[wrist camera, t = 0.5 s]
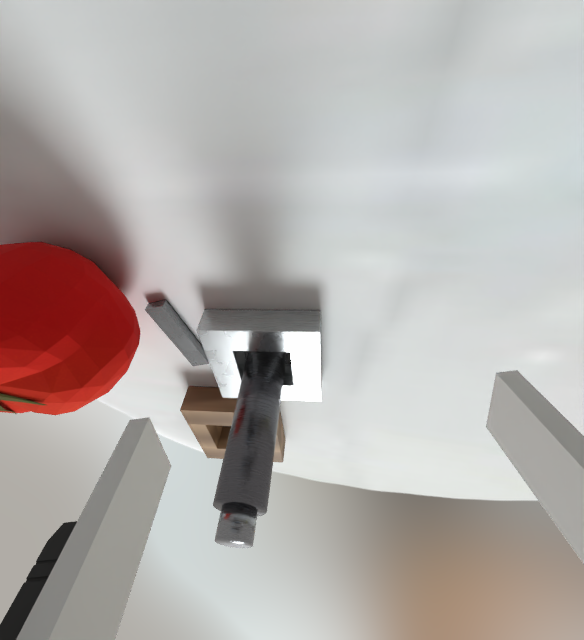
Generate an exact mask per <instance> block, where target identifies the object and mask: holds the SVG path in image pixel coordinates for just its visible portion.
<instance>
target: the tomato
mask: <svg viewBox="0 0 584 640" xmlns="http://www.w3.org/2000/svg"><path fill="white" fill-rule="evenodd" d="M139 339H140V328H139V324H138V321H137V317H136V313H135V311H134V309H133V307H132V306H131V304H130V303H129V301H128V300H127V298H126V297H125V295H124V294H123V293H122V292H121V291H120V290H119V289H118V288H117V286H116V285H115V284H114V283H113V282H112V281H111V280H110V279H109V278H108V277H107V276H106V275H105V274H104V273H103V272H102V271H101V270H100V269H99V268H98V267H97V266H96V264H95V263H94V262H92V261H91V260H89V259H87V258H85V257H83V256H81V255H80V254H78V253H76V252H74V251H72V250H70V249H66V248H62V247H59V246H55V245H51V244H47V243H43V242H27V243H15V244H4V245H0V412H8V413H24V412H29V411H32V412H35V413H43V414H51V415H58V414H62V413H68V412H73V411H76V410H78V409H79V408H81V407H83V406H84V405H86V404H88V403H90V402H92V401H93V400H95V399H97V398H99V397H101V396H102V395H104V394H106V393H108V392H109V391H110V390H111V389H112V388H113V386H114V385H115V384H116V383H117V382H118V381H119V380H120V379H121V378H122V376H123V375H124V374H125V373H126V372H127V370H128V368H129V366H130V363H131V361H132V359H133V357H134V354H135V352H136V350H137V347H138V345H139Z"/></svg>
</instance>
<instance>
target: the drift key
mask: <svg viewBox="0 0 584 640" xmlns="http://www.w3.org/2000/svg"><path fill="white" fill-rule="evenodd" d="M145 310H146V312H147V313H148V314H149V315H150V316H151V317H152V319H153V320H154V321H155V322H156V323H157V324H158V326H159V327H160V328H161V329H162V330H163V331H164V333H165V334H166V335H167V336H168V337H169V338H170V340H171V341H172V342H173V343H174V344H175V345H176V347H177V348H178V349H179V350H180V351H181V352H182V354H183V355H184V356H185V357H186V358H187V359H188V361H189V362H190V363H191V364H192V365H193V366H197V365H203V364H209V361H208V358H207V356H206V353H205V351H204V348H203V347H202V345H201V344H200V343H199V342H198V340H197V339H196V338H195V336H194V335H193V334H192V333H191V331H190V330H189V329H188V327H187V326H186V325H185V324H184V322H183V321H182V320H181V318H180V317H179V316H178V315H177V313H176V312H175V311H174V309H173V308H172V307H171V306H170V304H169V303H168V302H167V301H166V300H162V301H158V302H153V303H149V304H148V306H147V307H146V309H145Z"/></svg>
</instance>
